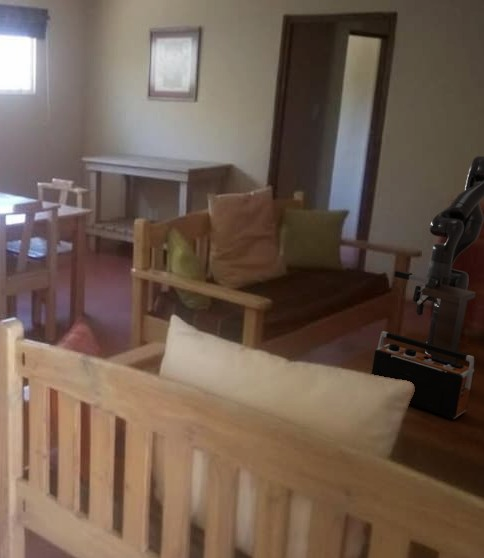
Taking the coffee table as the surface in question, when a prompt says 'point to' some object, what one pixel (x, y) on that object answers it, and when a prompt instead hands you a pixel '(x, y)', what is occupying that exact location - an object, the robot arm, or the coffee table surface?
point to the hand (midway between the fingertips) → (431, 317)
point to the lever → (411, 277)
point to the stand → (448, 315)
